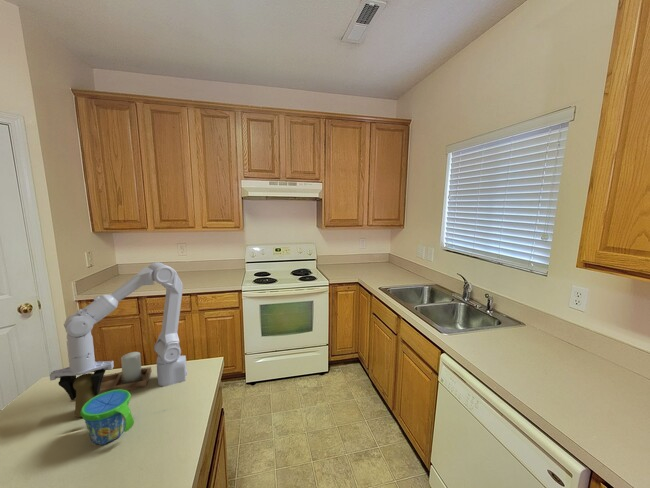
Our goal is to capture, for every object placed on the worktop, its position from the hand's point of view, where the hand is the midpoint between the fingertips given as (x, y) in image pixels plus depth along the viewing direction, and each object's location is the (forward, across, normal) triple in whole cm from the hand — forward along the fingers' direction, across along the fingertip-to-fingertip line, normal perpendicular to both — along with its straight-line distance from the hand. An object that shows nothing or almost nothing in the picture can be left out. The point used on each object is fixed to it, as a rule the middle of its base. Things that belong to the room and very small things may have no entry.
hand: (85, 395), depth 83 cm
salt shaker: (+6, -9, -12) cm, 16 cm away
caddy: (+6, -4, -12) cm, 15 cm away
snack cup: (+6, -9, +12) cm, 16 cm away
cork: (+5, 0, 0) cm, 5 cm away
